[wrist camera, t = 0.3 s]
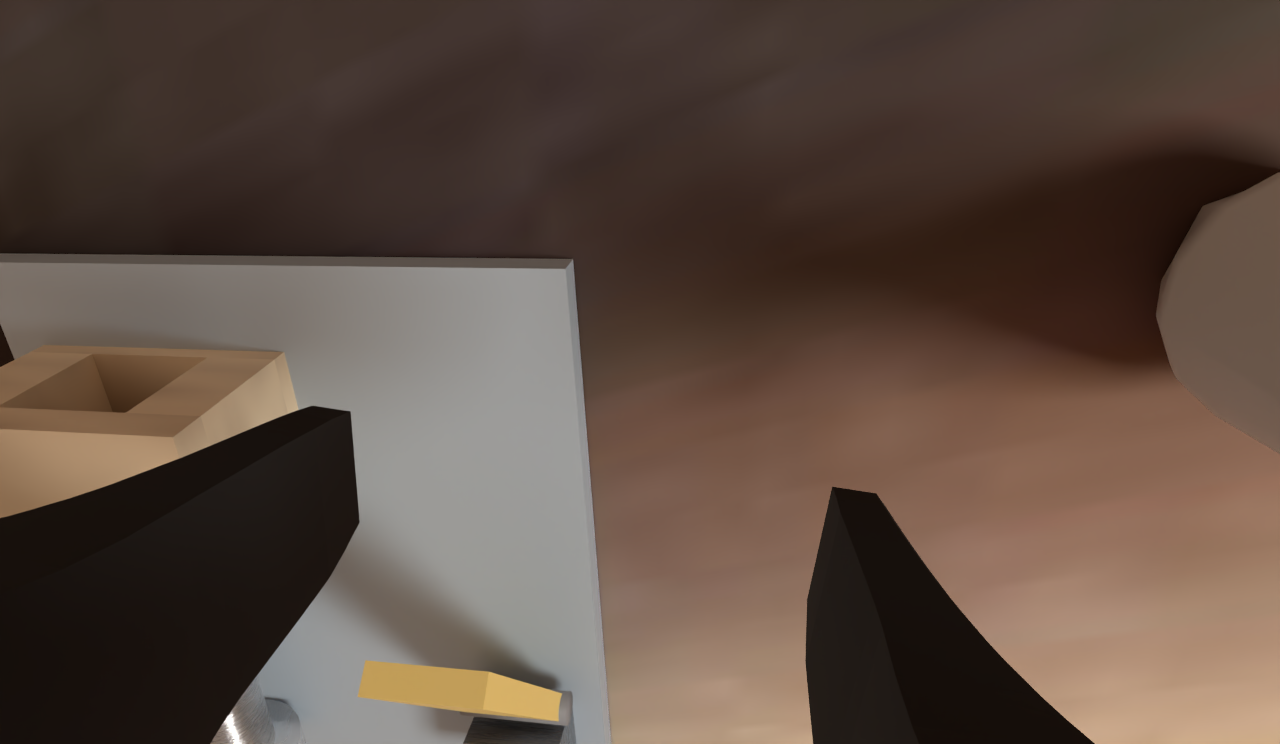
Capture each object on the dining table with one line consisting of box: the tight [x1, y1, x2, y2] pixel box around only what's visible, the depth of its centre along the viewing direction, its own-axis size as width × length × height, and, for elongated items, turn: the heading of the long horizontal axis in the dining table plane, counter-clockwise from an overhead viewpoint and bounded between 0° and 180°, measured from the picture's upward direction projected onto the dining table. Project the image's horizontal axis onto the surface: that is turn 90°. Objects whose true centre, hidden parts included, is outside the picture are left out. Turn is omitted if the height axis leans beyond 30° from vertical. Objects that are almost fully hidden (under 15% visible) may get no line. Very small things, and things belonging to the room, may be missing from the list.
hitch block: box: [0, 345, 298, 518], centre depth 23 cm, size 7×8×5 cm
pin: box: [211, 676, 306, 744], centre depth 25 cm, size 12×4×4 cm, turn 2°
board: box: [0, 253, 611, 744], centre depth 27 cm, size 21×17×1 cm
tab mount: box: [463, 707, 576, 744], centre depth 27 cm, size 2×3×2 cm, turn 93°
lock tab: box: [358, 660, 573, 726], centre depth 23 cm, size 8×3×1 cm
